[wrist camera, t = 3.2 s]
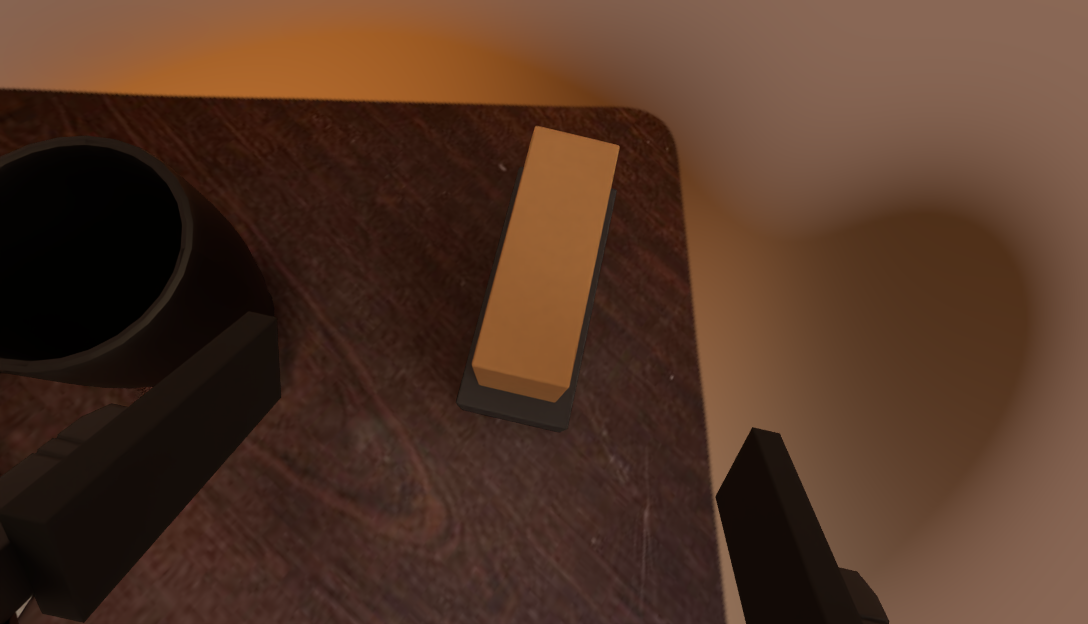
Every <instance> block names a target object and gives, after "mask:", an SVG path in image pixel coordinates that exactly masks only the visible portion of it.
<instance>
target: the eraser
mask: <svg viewBox="0 0 1088 624" xmlns="http://www.w3.org/2000/svg"><path fill="white" fill-rule="evenodd" d="M618 153H619V146H618V145H615V144H611V143H607V142H603V141H599V140H594V139H590V138H586V137H582V136H578V135H573V134H569V133H565V132H561V131H557V130H553V129H548V128H544V127H540V126H536V127H535V128H534V132H533V135H532V139H531V143H530V147H529V150H528V154H527V158H526V162H525V165H524V167H520V168H519V170H518V173H517V177H516V181H515V185H514V188H513V192H512V196H511V199H510V203H509V207H508V211H507V214H506V218H505V222H504V225H503V229H502V233H501V237H500V240H499V244H498V248H497V251H496V255H495V259H494V263H493V266H492V270H491V274H490V277H489V281H488V285H487V289H486V292H485V296H484V300H483V303H482V307H481V311H480V315H479V318H478V322H477V326H476V329H475V333H474V337H473V340H472V344H471V348H470V352H469V355H468V359H467V363H466V366H465V370H464V374H463V378H462V381H461V385H460V389H459V392H458V396H457V400H456V404H457V405H458V406H459V407H460V408H461V409H462V410H465V411H470V412H474V413H478V414H482V415H487V416H491V417H495V418H500V419H504V420H508V421H512V422H517V423H521V424H525V425H529V426H534V427H538V428H542V429H547V430H551V431H555V432H562V431H564V430H566V429H567V428H568V424H569V420H570V415H571V410H572V405H573V400H574V395H575V390H576V386H577V381H578V376H579V371H580V366H581V361H582V357H583V352H584V347H585V342H586V337H587V332H588V327H589V323H590V318H591V313H592V308H593V303H594V298H595V294H596V289H597V284H598V279H599V274H600V269H601V264H602V260H603V255H604V250H605V245H606V240H607V235H608V231H609V226H610V221H611V216H612V211H613V206H614V201H615V197H616V192H617V191H616V189H612V188H611V186H612V181H613V176H614V172H615V167H616V162H617V157H618Z"/></svg>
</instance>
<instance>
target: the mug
mask: <svg viewBox="0 0 1088 624" xmlns="http://www.w3.org/2000/svg"><path fill="white" fill-rule="evenodd" d="M248 311H250V312H254V313H259V314H263V315H267V316H272V317H274V305H273V301H272V297H271V295H270V293H269V292H268V290H267V287H266V284H265V281H264V279H263V276H262V274H261V271H260V270H259V268H258V266H257V264H256V262H255V260H254V258H253V257H252V255H251V253H250V251H249V249H248V247H247V246H246V244H245V243H244V241H243V240H242V238H241V237H240V235H239V234H238V232H237V231H236V230H235V229H234V227H233V226H232V225H231V224H230V223H229V221H228V220H227V219H226V218H225V217H224V216H223V215H222V214H221V213H220V212H219V211H218V210H217V208H216V207H215V206H214V205H213V204H212V203H211V202H210V201H208V200H207V199H206V198H205V197H204V196H203V195H202V194H201V193H200V192H198V191H197V190H196V189H195V188H194V187H193V186H192V185H190V184H189V183H188V182H187V181H186V180H185V179H183V178H182V177H181V176H180V175H179V174H178V173H177V172H175V171H174V170H173V169H172V168H171V167H170V166H168V165H167V164H166V163H165V162H163V161H162V160H160V159H159V158H157V157H155V156H154V155H152V154H151V153H149V152H147V151H146V150H144V149H142V148H139V147H136V146H133V145H130V144H127V143H124V142H121V141H118V140H115V139H109V138H101V137H93V136H76V137H60V138H55V139H50V140H46V141H42V142H38V143H34V144H30V145H27V146H25V147H22V148H20V149H18V150H15V151H13V152H11V153H8V154H6V155H4V156H1V157H0V372H2V373H8V374H14V375H20V376H26V377H32V378H38V379H44V380H50V381H56V382H63V383H69V384H76V385H84V386H94V387H104V388H140V387H153V386H155V385H157V384H158V383H159V382H160V381H162V380H163V379H164V378H165V377H167V376H168V375H169V374H170V373H172V372H173V371H174V370H176V369H177V368H178V367H179V366H181V365H182V364H183V363H184V362H186V361H187V360H188V359H189V358H191V357H192V356H193V355H194V354H196V353H197V352H198V351H199V350H201V349H202V348H203V347H204V346H206V345H207V344H208V343H209V342H211V341H212V340H213V339H214V338H216V337H217V336H218V335H220V334H221V333H222V332H223V331H225V330H226V329H227V328H228V327H230V326H231V325H232V324H233V323H235V322H236V321H237V320H238V319H240V318H241V317H242V316H243V315H245V314H246V313H247V312H248Z"/></svg>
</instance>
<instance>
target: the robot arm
mask: <svg viewBox="0 0 1088 624" xmlns="http://www.w3.org/2000/svg"><path fill="white" fill-rule="evenodd" d="M280 398H281V387H280V368H279V349H278V329H277V318H276V317H272V316H267V315H263V314H259V313H254V312H250V311H248V312H247V313H246V314H245V315H243V316H242V317H241V318H240V319H238V320H237V321H236V322H235V323H233V324H232V325H231V326H230V327H228V328H227V329H226V330H225V331H223V332H222V333H221V334H220V335H218V336H217V337H216V338H214V339H213V340H212V341H211V342H209V343H208V344H207V345H206V346H204V347H203V348H202V349H201V350H199V351H198V352H197V353H196V354H194V355H193V356H192V357H191V358H189V359H188V360H187V361H186V362H184V363H183V364H182V365H181V366H179V367H178V368H177V369H176V370H174V371H173V372H172V373H170V374H169V375H168V376H167V377H165V378H164V379H163V380H162V381H160V382H159V383H158V384H157V385H155V386H154V387H153V388H152V389H150V390H149V391H148V392H147V393H145V394H144V395H143V396H142V397H140V398H139V399H138V400H137V401H135V402H134V403H133V404H132V405H130V406H129V407H125V406H120V405H116V404H109V405H107V406H105V407H103V408H100V409H98V410H96V411H94V412H91V413H89V414H87V415H84V416H82V417H81V418H79V419H78V420H77V421H75V422H74V423H73V424H71V425H70V426H68V427H67V428H66V429H64V430H63V431H62V432H60V433H59V434H58V436H57V438H55V439H54V438H52V439H51V440H50V441H48V442H47V443H46V444H44V445H43V446H42V447H40V448H39V449H38V451H37V453H35V454H34V453H32V454H31V455H29V456H28V457H27V458H25V459H24V460H23V461H21V462H20V463H19V464H17V465H16V466H15V467H13V468H12V469H11V470H9V471H8V472H7V473H5V474H4V475H2V476H1V477H0V624H19V623H18V618H17V613H16V611H17V610H18V609H19V608H20V607H22V606H23V605H24V604H25V603H26V602H27V601H28V600H29V599H30V598H31V597H32V596H33V595H34V597H35V599H36V601H37V603H38V605H39V608H40V610H41V612H42V613H43V614H47V615H52V616H56V617H61V618H65V619H70V620H74V621H79V622H83V623H84V622H85V621H86V620H87V618H88V617H89V616H90V615H91V614H92V613H93V612H94V610H95V609H96V608H97V607H98V606H99V605H100V604H101V602H102V601H103V600H104V599H105V598H106V597H107V596H108V594H109V593H110V592H111V591H112V590H113V589H114V588H115V586H116V585H117V584H118V583H119V582H120V581H121V580H122V578H123V577H124V576H125V575H126V574H127V573H128V572H129V570H130V569H131V568H132V567H133V566H134V565H135V564H136V562H137V561H138V560H139V559H140V558H141V557H142V556H143V554H144V553H145V552H146V551H147V550H148V549H149V548H150V546H151V545H152V544H153V543H154V542H155V541H156V540H157V538H158V537H159V536H160V535H161V534H162V533H163V532H164V530H165V529H166V528H167V527H168V526H169V525H170V524H171V522H172V521H173V520H174V519H175V518H176V517H177V516H178V514H179V513H180V512H181V511H182V510H183V509H184V508H185V506H186V505H187V504H188V503H189V502H190V501H191V500H192V498H193V497H194V496H195V495H196V494H197V493H198V492H199V490H200V489H201V488H202V487H203V486H204V485H205V484H206V482H207V481H208V480H209V479H210V478H211V477H212V476H213V474H214V473H215V472H216V471H217V470H218V469H219V468H220V466H221V465H222V464H223V463H224V462H225V461H226V460H227V458H228V457H229V456H230V455H231V454H232V453H233V452H234V450H235V449H236V448H237V447H238V446H239V445H240V444H241V442H242V441H243V440H244V439H245V438H246V437H247V436H248V434H249V433H250V432H251V431H252V430H253V429H254V428H255V426H256V425H257V424H258V423H259V422H260V421H261V420H262V418H263V417H264V416H265V415H266V414H267V413H268V412H269V410H270V409H271V408H272V407H273V406H274V405H275V404H276V402H277V401H278V400H279V399H280ZM716 501H717V505H718V509H719V513H720V517H721V521H722V526H723V530H724V534H725V538H726V542H727V546H728V551H729V555H730V559H731V563H732V567H733V571H734V575H735V580H736V584H737V587H738V592H739V596H740V600H741V604H742V608H743V612H744V617H745V621H746V624H889V620H888V618H887V616H886V613H885V612H884V609H883V607H882V605H881V603H880V601H879V599H878V597H877V595H876V594H875V593H874V592H873V590H872V589H871V588H870V587H869V586H868V584H867V583H866V582H865V581H864V579H863V578H862V577H861V576H860V575H859V573H858V572H856V571H852V570H848V569H843V568H839V567H838V565H837V563H836V561H835V559H834V556H833V554H832V552H831V549H830V547H829V545H828V542H827V540H826V538H825V536H824V533H823V531H822V529H821V526H820V524H819V522H818V520H817V517H816V515H815V513H814V511H813V508H812V506H811V504H810V501H809V499H808V497H807V494H806V492H805V490H804V488H803V486H802V483H801V481H800V479H799V476H798V474H797V472H796V469H795V467H794V465H793V463H792V460H791V458H790V456H789V454H788V451H787V449H786V447H785V445H784V442H783V440H782V437H781V435H780V434H779V433H775V432H771V431H766V430H761V429H757V428H753V427H752V429H751V431H750V433H749V435H748V436H747V438H746V440H745V442H744V444H743V446H742V448H741V450H740V452H739V453H738V455H737V457H736V459H735V461H734V463H733V465H732V466H731V469H730V470H729V472H728V474H727V476H726V478H725V480H724V481H723V483H722V485H721V487H720V489H719V491H718V493H717V495H716Z"/></svg>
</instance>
